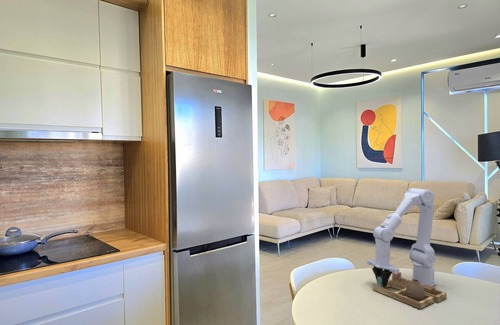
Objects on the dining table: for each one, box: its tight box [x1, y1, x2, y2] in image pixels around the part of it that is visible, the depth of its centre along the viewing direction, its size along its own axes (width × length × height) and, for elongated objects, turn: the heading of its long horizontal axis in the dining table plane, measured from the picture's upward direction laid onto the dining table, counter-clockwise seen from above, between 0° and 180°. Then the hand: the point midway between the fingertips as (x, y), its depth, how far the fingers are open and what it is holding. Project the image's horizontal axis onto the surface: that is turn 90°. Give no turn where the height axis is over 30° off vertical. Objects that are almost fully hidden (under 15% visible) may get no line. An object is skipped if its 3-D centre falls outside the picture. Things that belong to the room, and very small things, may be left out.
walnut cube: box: [422, 284, 437, 296], centre depth 131 cm, size 4×4×4 cm
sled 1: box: [372, 275, 435, 309], centre depth 130 cm, size 10×20×5 cm, turn 33°
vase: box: [405, 278, 425, 302], centre depth 125 cm, size 7×7×9 cm
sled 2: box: [389, 271, 447, 303], centre depth 135 cm, size 8×20×5 cm, turn 33°
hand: (382, 285), depth 138 cm, fingers closed on sled 1, 2 cm apart
